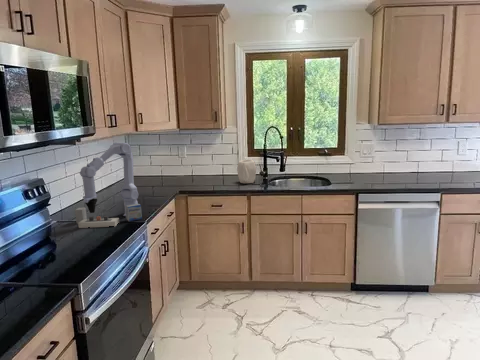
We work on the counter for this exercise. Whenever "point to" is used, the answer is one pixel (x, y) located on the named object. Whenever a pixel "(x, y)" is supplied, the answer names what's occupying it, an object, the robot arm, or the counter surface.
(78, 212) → the grey cord holder
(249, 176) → the white faceted vase
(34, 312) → the counter surface
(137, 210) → the medicine box
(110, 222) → the power strip
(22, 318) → the counter surface
